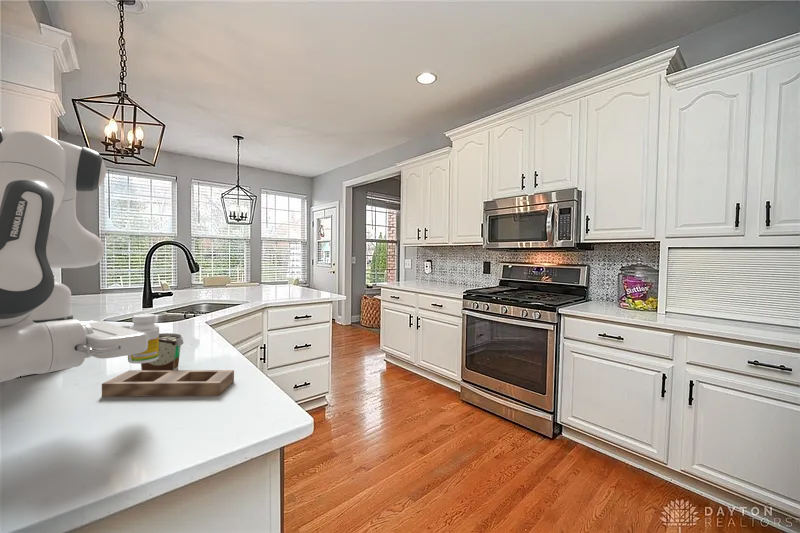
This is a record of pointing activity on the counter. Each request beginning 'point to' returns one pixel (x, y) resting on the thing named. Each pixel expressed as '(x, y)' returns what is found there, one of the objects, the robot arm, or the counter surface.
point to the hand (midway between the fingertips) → (148, 331)
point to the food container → (166, 353)
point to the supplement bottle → (152, 353)
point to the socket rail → (168, 383)
